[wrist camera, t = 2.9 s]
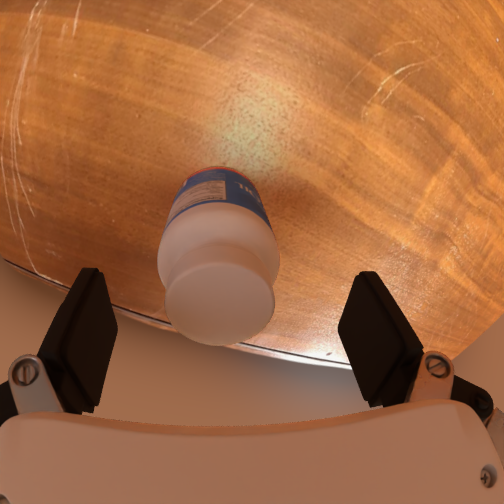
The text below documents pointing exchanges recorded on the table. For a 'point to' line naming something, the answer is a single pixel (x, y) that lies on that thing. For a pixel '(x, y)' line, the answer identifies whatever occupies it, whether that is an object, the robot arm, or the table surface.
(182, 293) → the pill bottle
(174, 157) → the table surface
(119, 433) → the robot arm
